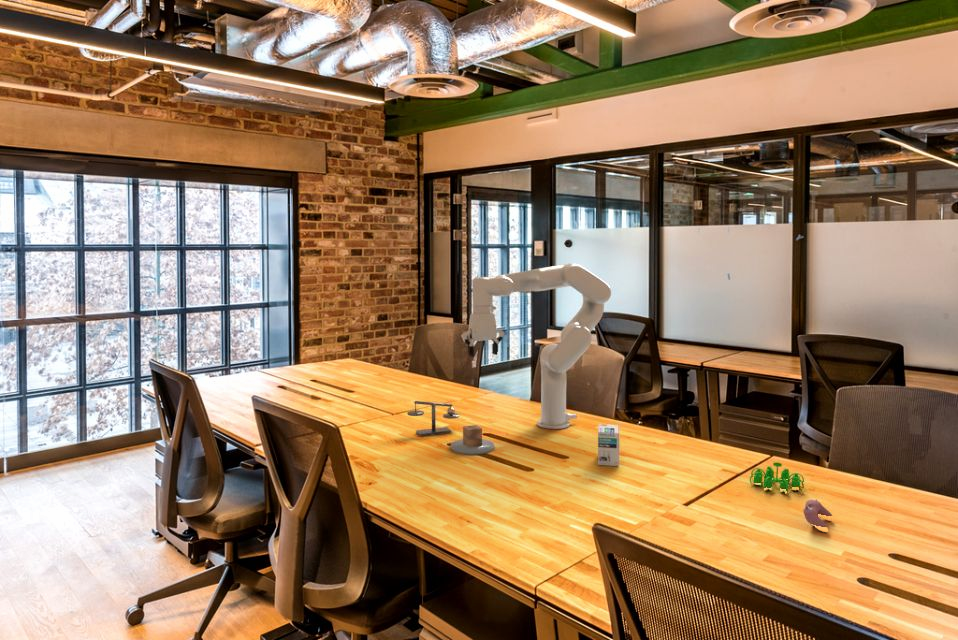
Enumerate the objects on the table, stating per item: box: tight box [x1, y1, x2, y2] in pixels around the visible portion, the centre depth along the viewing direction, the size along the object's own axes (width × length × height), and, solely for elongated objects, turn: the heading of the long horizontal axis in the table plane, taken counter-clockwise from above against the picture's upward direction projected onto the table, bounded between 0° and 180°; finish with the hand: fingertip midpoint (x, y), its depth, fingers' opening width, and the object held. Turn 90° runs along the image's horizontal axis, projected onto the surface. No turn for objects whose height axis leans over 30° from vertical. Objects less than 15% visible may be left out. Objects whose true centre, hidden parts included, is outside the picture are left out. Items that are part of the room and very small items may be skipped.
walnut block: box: [462, 424, 483, 447], centre depth 230 cm, size 5×5×6 cm
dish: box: [450, 438, 495, 456], centre depth 230 cm, size 15×15×1 cm
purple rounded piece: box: [803, 499, 833, 528], centre depth 166 cm, size 10×5×7 cm, turn 146°
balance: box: [406, 400, 460, 437], centre depth 249 cm, size 20×6×13 cm, turn 113°
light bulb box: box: [597, 423, 620, 467], centre depth 216 cm, size 11×7×11 cm, turn 169°
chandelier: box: [749, 462, 805, 492], centre depth 193 cm, size 15×15×7 cm
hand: (483, 355), depth 253 cm, fingers open, 9 cm apart
